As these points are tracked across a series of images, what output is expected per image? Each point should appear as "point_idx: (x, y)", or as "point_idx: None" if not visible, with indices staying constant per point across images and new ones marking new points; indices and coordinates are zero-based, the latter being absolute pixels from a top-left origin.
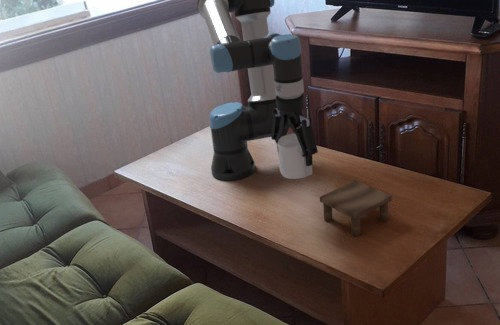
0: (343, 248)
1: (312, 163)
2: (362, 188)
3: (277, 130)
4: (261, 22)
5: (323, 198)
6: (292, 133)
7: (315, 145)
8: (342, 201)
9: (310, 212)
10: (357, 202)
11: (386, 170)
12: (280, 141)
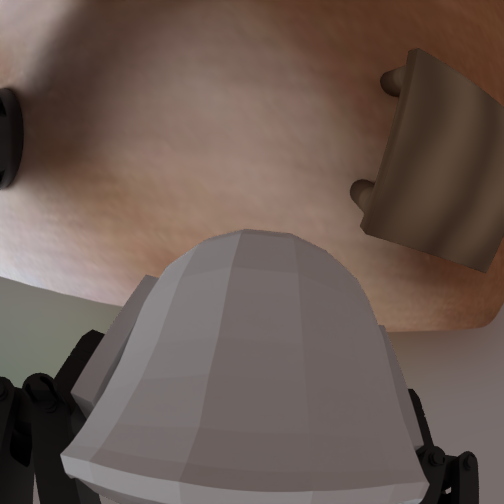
0: (434, 282)
1: (417, 397)
2: (469, 109)
3: (18, 479)
4: None
5: (383, 236)
6: (75, 476)
7: (473, 498)
8: (447, 226)
9: (289, 179)
10: (483, 210)
11: None
12: (145, 501)
